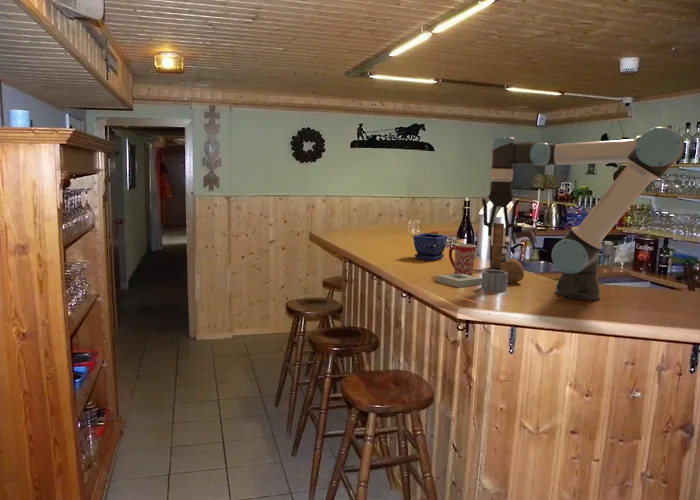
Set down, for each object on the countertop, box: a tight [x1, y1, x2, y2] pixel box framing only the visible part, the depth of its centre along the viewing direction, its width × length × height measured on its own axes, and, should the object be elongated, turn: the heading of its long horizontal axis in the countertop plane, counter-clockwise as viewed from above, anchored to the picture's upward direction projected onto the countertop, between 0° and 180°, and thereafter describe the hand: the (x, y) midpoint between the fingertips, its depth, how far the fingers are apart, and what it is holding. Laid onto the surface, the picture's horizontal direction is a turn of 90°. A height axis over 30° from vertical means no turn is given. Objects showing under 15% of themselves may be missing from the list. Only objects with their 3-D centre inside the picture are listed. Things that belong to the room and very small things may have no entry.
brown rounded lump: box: [500, 258, 525, 284], centre depth 216 cm, size 9×9×10 cm
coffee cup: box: [488, 236, 511, 271], centre depth 249 cm, size 10×10×15 cm
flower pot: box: [413, 232, 448, 262], centre depth 271 cm, size 13×13×12 cm
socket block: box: [436, 272, 482, 288], centre depth 211 cm, size 12×12×3 cm
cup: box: [480, 269, 508, 293], centre depth 202 cm, size 9×9×7 cm
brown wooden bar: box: [491, 222, 505, 268], centre depth 199 cm, size 4×4×16 cm
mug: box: [448, 243, 478, 276], centre depth 227 cm, size 13×9×14 cm
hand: (497, 245), depth 199 cm, fingers closed on brown wooden bar, 3 cm apart
